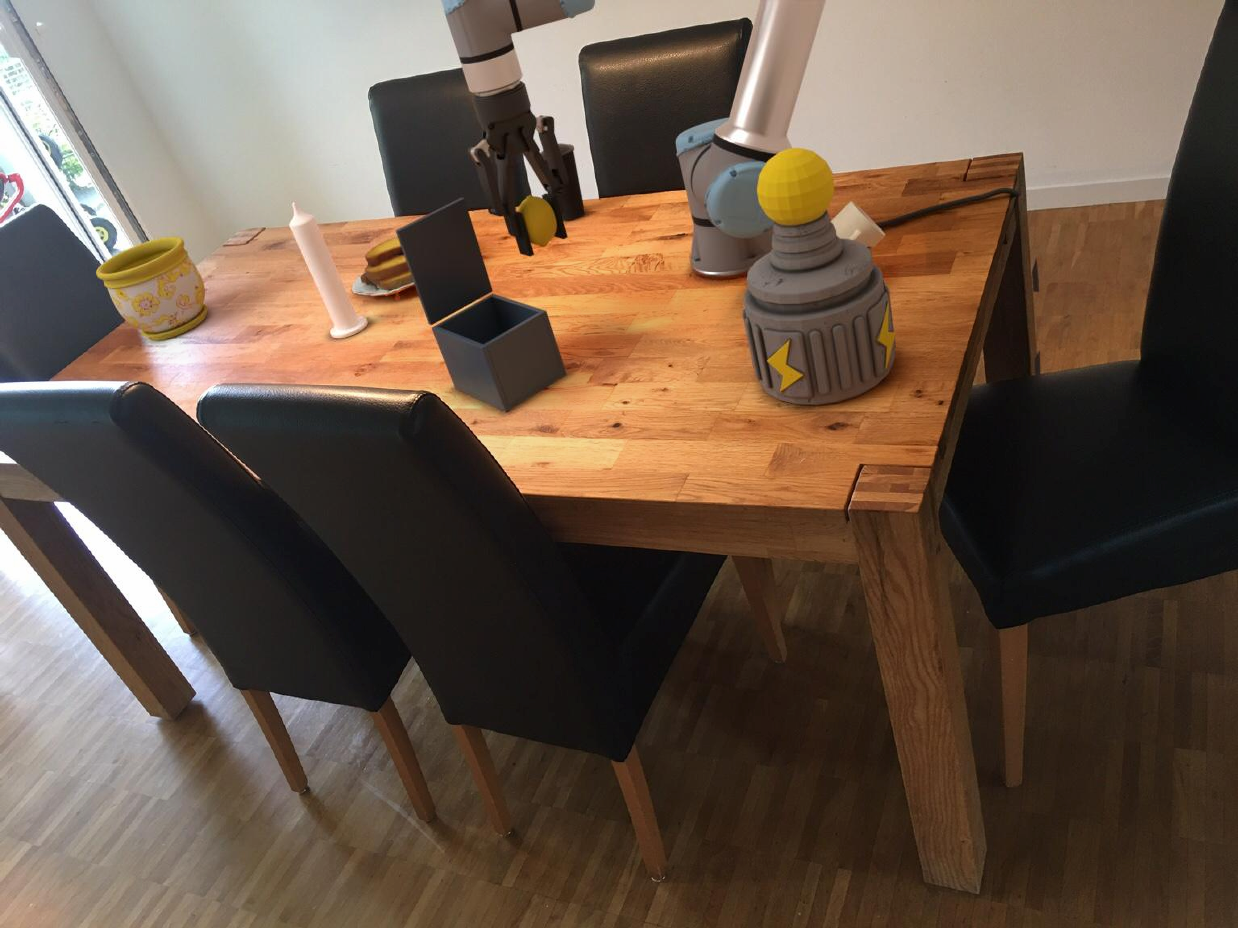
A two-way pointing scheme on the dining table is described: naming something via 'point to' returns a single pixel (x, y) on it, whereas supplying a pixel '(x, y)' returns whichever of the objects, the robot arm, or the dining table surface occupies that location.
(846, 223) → the character mug
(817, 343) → the decorative lamp
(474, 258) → the lid
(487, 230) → the dining table surface
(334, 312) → the candle
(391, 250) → the food on plate
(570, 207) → the drinking cup
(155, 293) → the flowerpot
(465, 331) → the box
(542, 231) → the lemon
